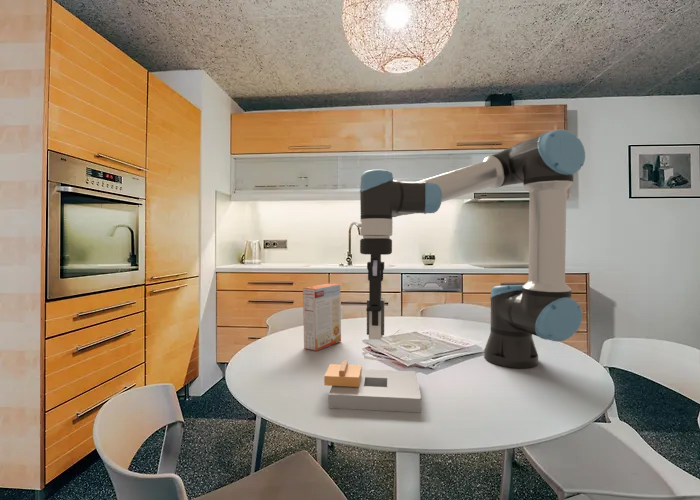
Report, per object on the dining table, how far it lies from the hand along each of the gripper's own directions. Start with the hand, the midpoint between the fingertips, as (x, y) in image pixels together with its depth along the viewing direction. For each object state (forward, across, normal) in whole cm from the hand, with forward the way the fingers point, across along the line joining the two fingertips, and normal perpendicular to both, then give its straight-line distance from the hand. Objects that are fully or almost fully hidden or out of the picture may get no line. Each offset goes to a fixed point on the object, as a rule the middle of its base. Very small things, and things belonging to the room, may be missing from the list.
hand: (375, 335), depth 86 cm
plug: (0, 0, 0) cm, 0 cm away
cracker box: (+14, -38, -20) cm, 45 cm away
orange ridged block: (+11, 0, -8) cm, 13 cm away
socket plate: (+14, 0, 0) cm, 14 cm away
